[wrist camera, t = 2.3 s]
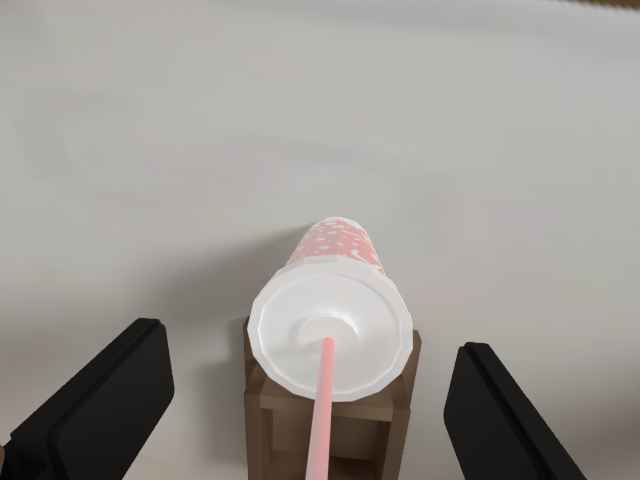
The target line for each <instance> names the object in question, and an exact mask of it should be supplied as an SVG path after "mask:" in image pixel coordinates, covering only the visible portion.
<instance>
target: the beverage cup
mask: <svg viewBox="0 0 640 480" xmlns="http://www.w3.org/2000/svg"><path fill="white" fill-rule="evenodd" d="M247 330H248V335H249V339H250V343H251V348H252V352H253V356H254V357H255V358H256V360H257V361H258V362H259V364H260V365H261V367H262V368H263V369H264V371H265V372H266V373H267V375H268V376H269V378H271V379H272V380H274V381H275V382H277V383H278V384H280V385H281V386H283V387H284V388H286V389H287V390H289V391H290V392H292V393H293V394H296V395H300V396H303V397H307V398H310V399H314V400H315V404H314V413H313V421H312V429H311V438H310V446H309V454H308V463H307V471H306V479H305V480H327V479H328V461H329V443H330V425H331V407H332V402H344V401H354V400H357V399H360V398H363V397H366V396H368V395H371V394H374V393H377V392H380V391H381V390H382V389H383V388H384V387H386V386H387V385H388V384H389V383H390V382H391V381H393V380H394V379H395V378H396V377H397V376H399V375H400V374H401V372H402V370H403V368H404V366H405V364H406V362H407V360H408V358H409V356H410V354H411V352H412V350H413V329H412V318H411V315H410V314H409V312H408V310H407V307H406V305H405V303H404V301H403V300H402V298H401V296H400V294H399V292H398V290H397V288H396V286H395V284H394V283H393V282H392V281H391V280H389V279H388V278H387V277H386V275H385V272H384V270H383V268H382V266H381V263H380V261H379V259H378V256H377V254H376V252H375V249H374V247H373V245H372V243H371V241H370V239H369V237H368V235H367V233H366V231H365V230H364V229H363V228H362V227H361V226H360V225H358V224H357V223H356V222H355V221H352V220H349V219H346V218H342V217H333V218H325V219H323V220H321V221H319V222H317V223H316V224H314V225H313V226H312V227H311V228H310V229H309V231H308V232H307V233H306V234H305V236H304V237H303V239H302V240H301V242H300V243H299V245H298V246H297V248H296V249H295V251H294V252H293V254H292V255H291V257H290V258H289V260H288V261H287V263H286V265H285V266H284V268H281V269H279V270H278V271H277V272H276V273H275V274H274V276H273V277H272V278H271V279H270V280H269V282H268V283H267V284H266V285H265V286H264V288H263V289H262V290H261V291H260V293H259V295H258V296H257V297H256V298H255V300H254V302H253V306H252V310H251V315H250V319H249V323H248V327H247Z"/></svg>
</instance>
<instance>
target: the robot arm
mask: <svg viewBox="0 0 640 480" xmlns="http://www.w3.org/2000/svg"><path fill="white" fill-rule="evenodd" d="M173 396H174V382H173V375H172V369H171V362H170V355H169V348H168V342H167V335H166V328H165V326H164V325H163V324H161V322H160V321H159V320H158V319H149V318H138V319H137V320H135V321H134V322H133V323H132V324H131V325H130V326H129V327H128V328H127V329H125V330H124V331H123V332H122V333H121V334H120V335H119V336H118V337H117V338H115V339H114V340H113V341H112V342H111V343H110V344H109V345H108V346H107V347H106V348H104V349H103V350H102V351H101V352H100V353H99V354H98V355H97V356H96V357H94V358H93V359H92V360H91V361H90V362H89V363H88V364H87V365H86V366H85V367H83V368H82V369H81V370H80V371H79V372H78V373H77V374H76V375H75V376H74V377H72V378H71V379H70V380H69V381H68V382H67V383H66V384H65V385H64V386H62V387H61V388H60V389H59V390H58V391H57V392H56V393H55V394H54V395H53V396H51V397H50V398H49V399H48V400H47V401H46V402H45V403H44V404H43V405H41V406H40V407H39V408H38V409H37V410H36V411H35V412H34V413H33V414H32V415H30V416H29V417H28V418H27V419H26V420H25V421H24V422H23V423H22V424H20V425H19V426H18V427H17V428H16V429H15V430H14V431H13V432H12V433H11V434H10V436H11V440H10V441H9V442H8V443H7V444H6V445H4V446H3V447H2V446H1V445H0V480H122V479H123V477H124V475H125V474H126V472H127V471H128V469H129V468H130V466H131V464H132V463H133V461H134V460H135V458H136V456H137V455H138V453H139V452H140V450H141V449H142V447H143V445H144V444H145V442H146V441H147V439H148V437H149V436H150V434H151V433H152V431H153V430H154V428H155V426H156V425H157V423H158V422H159V420H160V418H161V417H162V415H163V414H164V412H165V411H166V409H167V407H168V406H169V404H170V403H171V401H172V399H173ZM444 423H445V426H446V429H447V431H448V434H449V437H450V439H451V442H452V445H453V448H454V450H455V453H456V456H457V458H458V461H459V464H460V467H461V469H462V472H463V475H464V477H465V480H587V479H586V478H585V476H584V475H583V474H582V472H581V471H580V469H579V468H578V467H577V465H576V464H575V462H574V461H573V460H572V458H571V457H570V456H569V454H568V453H567V451H566V450H565V449H564V447H563V446H562V445H561V443H560V442H559V440H558V439H557V438H556V436H555V435H554V433H553V432H552V431H551V429H550V428H549V427H548V425H547V424H546V422H545V421H544V420H543V418H542V417H541V416H540V414H539V413H538V411H537V410H536V409H535V407H534V406H533V404H532V403H531V402H530V400H529V399H528V398H527V397H526V396H525V394H524V393H523V391H522V390H521V389H520V387H519V386H518V384H517V383H516V382H515V380H514V379H513V378H512V376H511V375H510V373H509V372H508V371H507V369H506V368H505V366H504V365H503V364H502V362H501V361H500V360H499V358H498V357H497V355H496V354H495V353H494V351H493V350H492V348H491V347H490V346H489V345H488V344H486V343H475V342H466V343H465V345H464V347H463V346H461V347H460V348H459V350H458V354H457V358H456V362H455V366H454V370H453V374H452V379H451V383H450V387H449V391H448V395H447V400H446V404H445V408H444Z"/></svg>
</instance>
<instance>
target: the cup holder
mask: <svg viewBox="0 0 640 480" xmlns="http://www.w3.org/2000/svg"><path fill="white" fill-rule="evenodd" d="M249 319H250V316H249V317H248V318H247V320H246V322H245V324H244V326H243V329H244V350H245V372H246V390H245V392H244V403H245V422H246V442H247V462H248V480H305V479H306V471H307V463H308V454H309V446H310V438H311V429H312V421H313V413H314V404H315V400H314V399H310V398H307V397H303V396H300V395H296V394H293V393H292V392H290V391H289V390H287V389H286V388H284V387H283V386H281V385H280V384H278V383H277V382H275V381H274V380H272V379H271V378H269V376H268V375H267V373H266V372H265V371H264V369H263V368H262V367H261V365H260V364H259V362H258V361H257V360H256V358H255V357H254V356H253V352H252V348H251V343H250V339H249V335H248V330H247V327H248V323H249ZM421 343H422V341H421V339H420V336H419V333H418V331H414V330H413V350H412V352H411V354H410V356H409V358H408V360H407V362H406V364H405V366H404V368H403V370H402V372H401V374H400V375H399V376H397V377H396V378H395V379H394V380H393V381H391V382H390V383H389V384H388V385H387V386H386V387H384V388H383V389H382V390H381V391H380V392H377V393H374V394H371V395H368V396H366V397H363V398H360V399H357V400H354V401H344V402H332V407H331V425H330V443H329V461H328V479H327V480H398V475H399V470H400V465H401V459H402V454H403V449H404V443H405V438H406V433H407V428H408V422H409V417H410V412H411V410H410V402H411V396H412V391H413V386H414V380H415V375H416V370H417V364H418V359H419V354H420V348H421Z"/></svg>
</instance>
